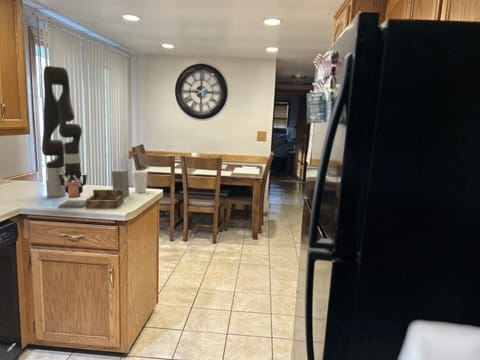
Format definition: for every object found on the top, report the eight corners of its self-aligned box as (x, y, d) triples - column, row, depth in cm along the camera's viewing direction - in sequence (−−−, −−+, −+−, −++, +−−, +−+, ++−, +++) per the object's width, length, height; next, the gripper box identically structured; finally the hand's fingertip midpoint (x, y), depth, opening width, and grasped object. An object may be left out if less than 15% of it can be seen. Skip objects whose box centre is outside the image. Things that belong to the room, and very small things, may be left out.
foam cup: (134, 189, 228) (134, 170, 226) (148, 189, 229) (148, 170, 227) (131, 192, 219) (130, 172, 217) (146, 192, 220) (145, 172, 217)
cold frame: (85, 208, 180) (85, 195, 179) (94, 201, 194) (93, 189, 192) (117, 208, 181) (116, 195, 180) (123, 201, 195) (123, 189, 194)
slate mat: (58, 207, 179) (58, 205, 179) (67, 202, 191) (67, 200, 191) (82, 207, 181) (82, 205, 180) (90, 202, 192) (90, 200, 192)
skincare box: (122, 197, 205) (121, 171, 202) (111, 196, 206) (110, 170, 203) (129, 194, 213) (129, 169, 210) (119, 194, 214) (118, 168, 211)
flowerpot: (65, 198, 181) (64, 182, 180) (70, 195, 188) (69, 180, 186) (78, 198, 182) (77, 182, 181) (83, 195, 189) (82, 180, 187)
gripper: (55, 162, 177) (57, 194, 180) (84, 163, 179) (85, 194, 182) (61, 161, 185) (63, 191, 188) (88, 161, 186) (90, 191, 189)
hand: (74, 193), depth 185 cm, fingers closed on flowerpot, 5 cm apart
